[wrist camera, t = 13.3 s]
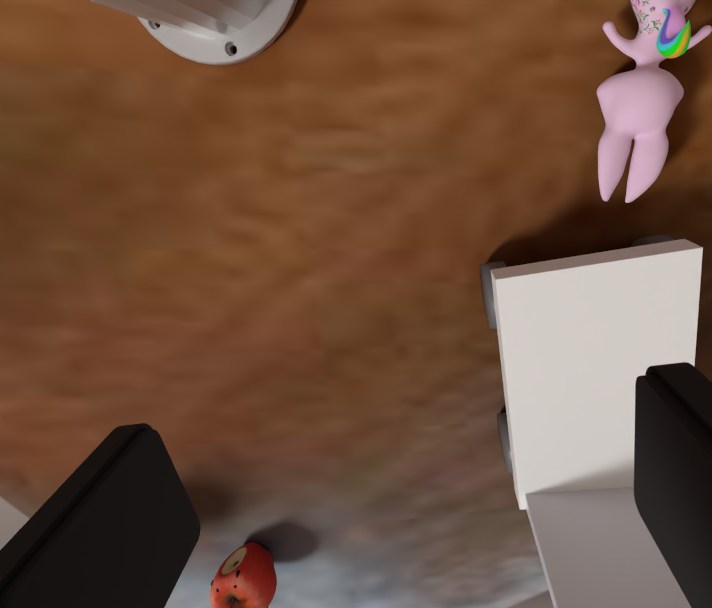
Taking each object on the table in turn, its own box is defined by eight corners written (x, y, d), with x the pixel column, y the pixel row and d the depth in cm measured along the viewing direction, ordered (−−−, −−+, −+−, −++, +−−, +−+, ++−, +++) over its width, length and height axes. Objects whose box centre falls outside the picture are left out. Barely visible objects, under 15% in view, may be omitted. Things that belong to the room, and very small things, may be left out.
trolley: (476, 249, 36) (532, 373, 19) (651, 220, 33) (891, 332, 17) (501, 450, 43) (556, 667, 26) (645, 437, 40) (808, 668, 24)
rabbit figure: (603, -44, 29) (560, 198, 32) (652, -103, 23) (593, 199, 27) (707, -41, 28) (652, 205, 32) (784, -101, 22) (705, 207, 26)
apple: (225, 525, 52) (184, 615, 42) (283, 532, 51) (255, 624, 42) (232, 571, 55) (195, 664, 45) (287, 578, 54) (261, 674, 45)
